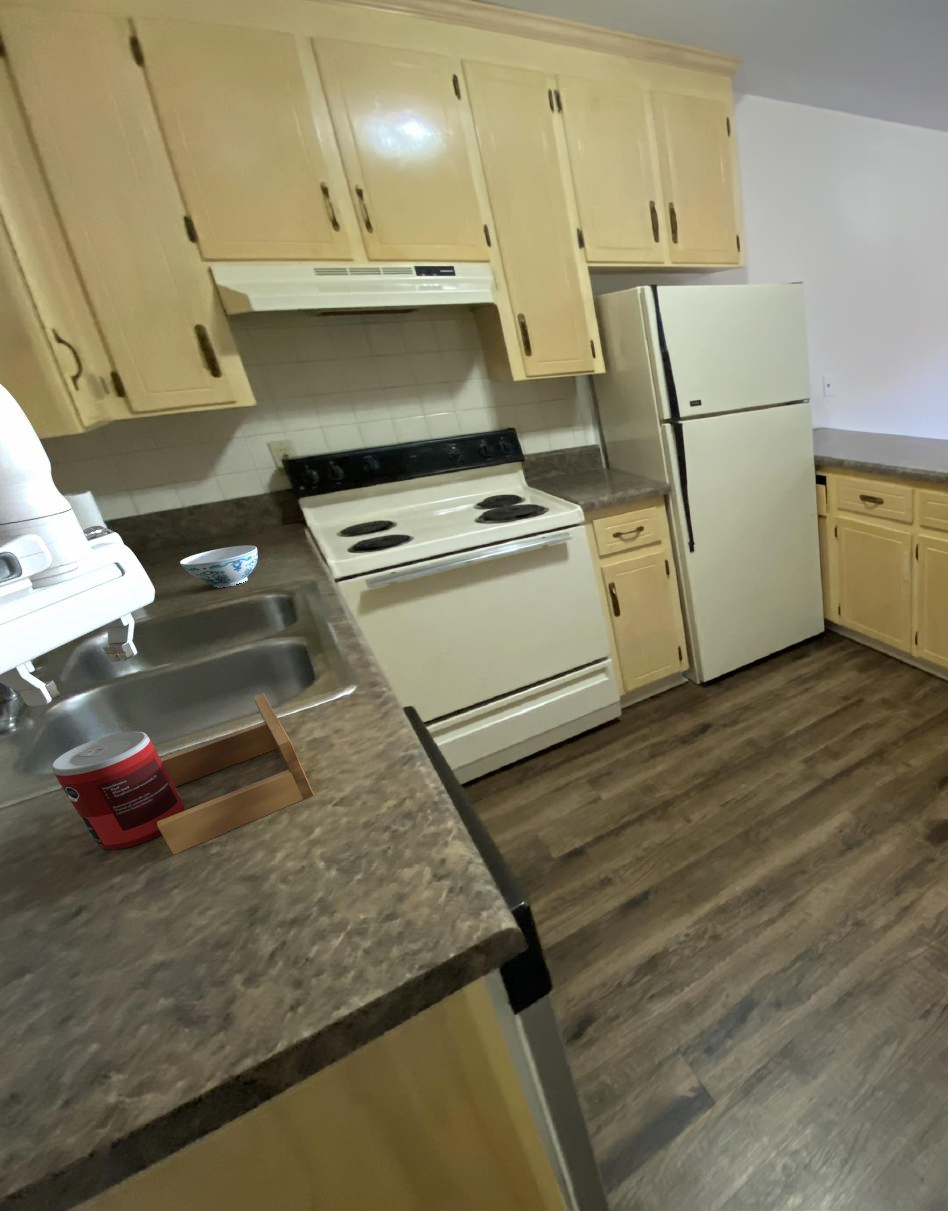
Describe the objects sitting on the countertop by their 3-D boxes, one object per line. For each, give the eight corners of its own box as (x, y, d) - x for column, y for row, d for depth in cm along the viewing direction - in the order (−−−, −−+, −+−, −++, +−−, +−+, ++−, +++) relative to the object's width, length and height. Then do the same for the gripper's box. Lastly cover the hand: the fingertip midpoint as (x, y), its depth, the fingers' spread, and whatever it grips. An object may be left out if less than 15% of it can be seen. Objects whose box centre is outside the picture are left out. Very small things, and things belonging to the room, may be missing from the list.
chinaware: (282, 572, 173) (271, 544, 170) (229, 593, 159) (216, 563, 156) (233, 573, 175) (221, 546, 172) (176, 594, 161) (162, 565, 158)
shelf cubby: (173, 855, 73) (140, 796, 70) (161, 788, 85) (133, 735, 82) (313, 795, 81) (290, 740, 78) (284, 742, 93) (263, 692, 90)
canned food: (123, 816, 80) (79, 739, 76) (201, 799, 82) (162, 724, 78) (80, 859, 73) (29, 778, 69) (166, 840, 75) (122, 760, 71)
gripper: (77, 523, 71) (133, 640, 76) (-147, 588, 52) (-52, 737, 57) (143, 518, 71) (193, 634, 77) (-55, 580, 53) (30, 728, 58)
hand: (87, 679), depth 67 cm, fingers open, 8 cm apart
